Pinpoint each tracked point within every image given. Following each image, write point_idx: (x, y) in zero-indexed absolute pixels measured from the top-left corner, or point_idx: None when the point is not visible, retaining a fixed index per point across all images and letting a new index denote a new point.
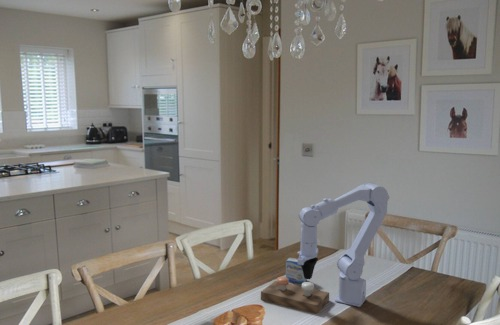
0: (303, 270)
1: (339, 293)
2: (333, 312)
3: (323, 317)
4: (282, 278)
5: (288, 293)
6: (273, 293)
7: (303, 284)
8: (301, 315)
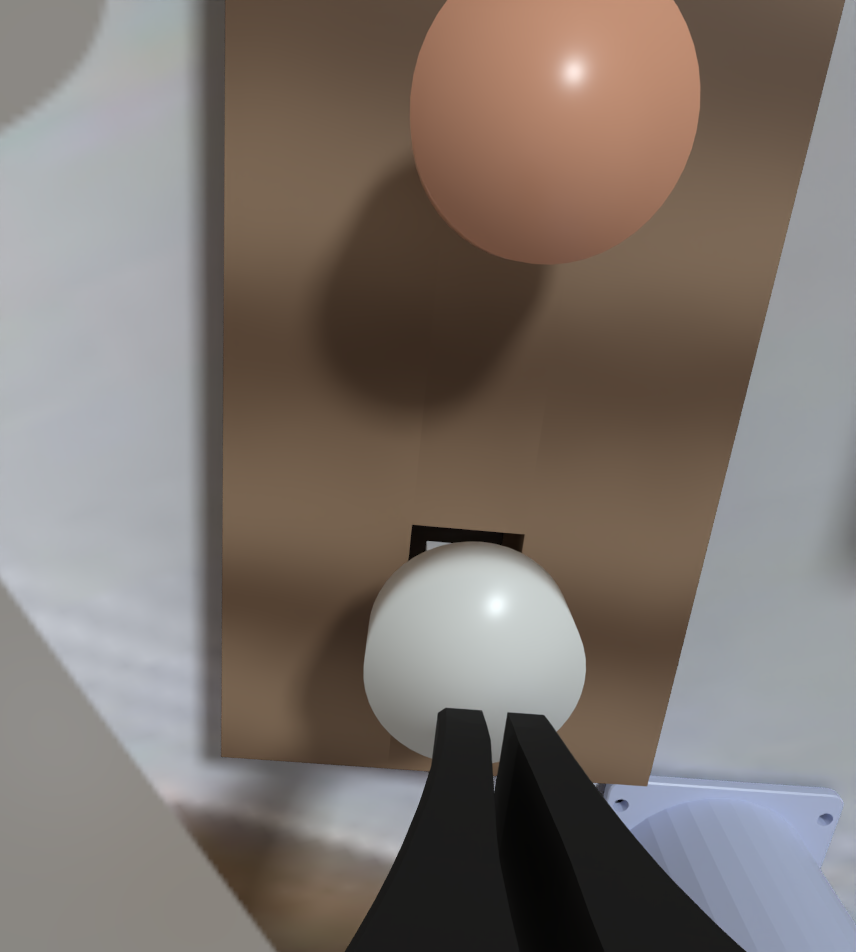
0: (408, 857)
1: (675, 871)
2: (356, 810)
3: (203, 759)
4: (587, 90)
5: (394, 305)
6: (275, 46)
7: (443, 609)
8: (120, 562)
